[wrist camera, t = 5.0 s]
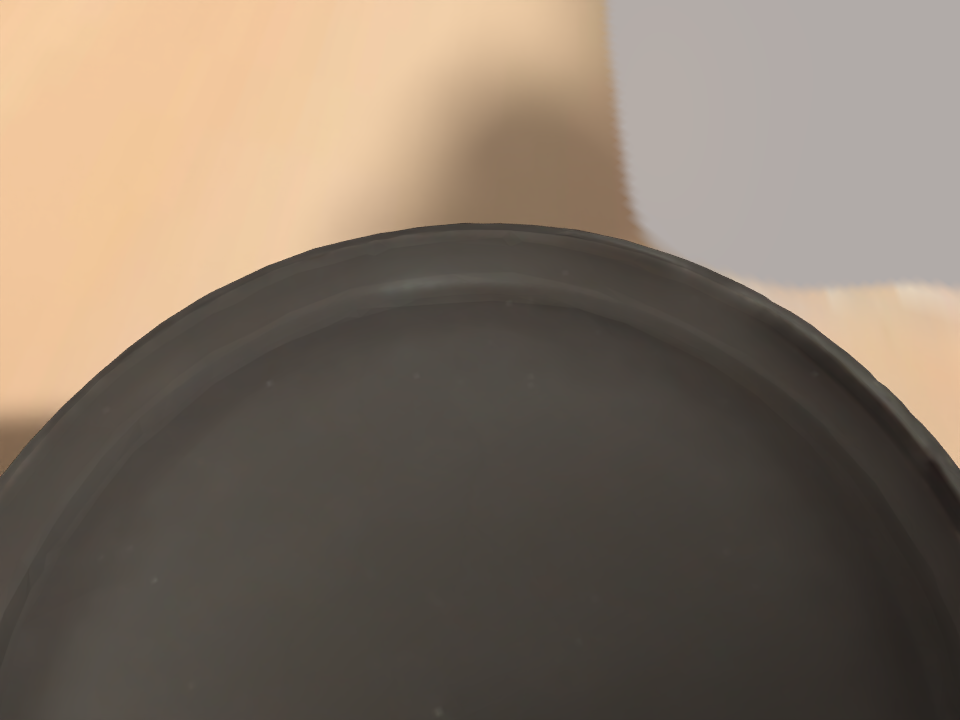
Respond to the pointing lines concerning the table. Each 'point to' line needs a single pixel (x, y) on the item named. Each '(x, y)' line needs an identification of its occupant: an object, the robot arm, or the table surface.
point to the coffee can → (481, 503)
